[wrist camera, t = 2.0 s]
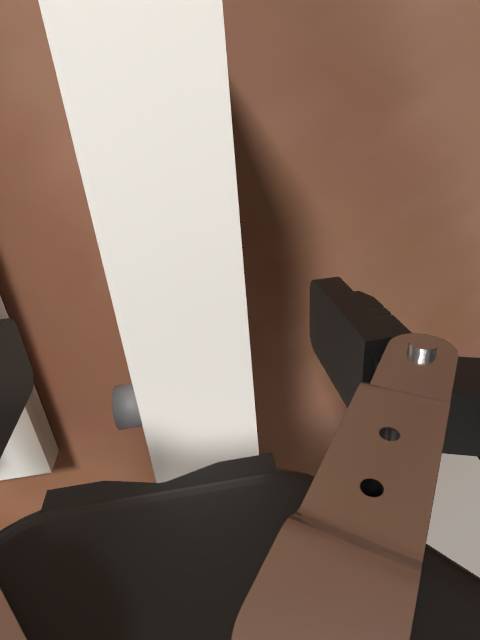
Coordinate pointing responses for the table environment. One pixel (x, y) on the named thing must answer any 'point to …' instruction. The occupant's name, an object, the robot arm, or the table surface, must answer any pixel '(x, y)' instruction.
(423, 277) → the table surface
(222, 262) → the door
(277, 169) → the table surface
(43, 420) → the cabinet side
